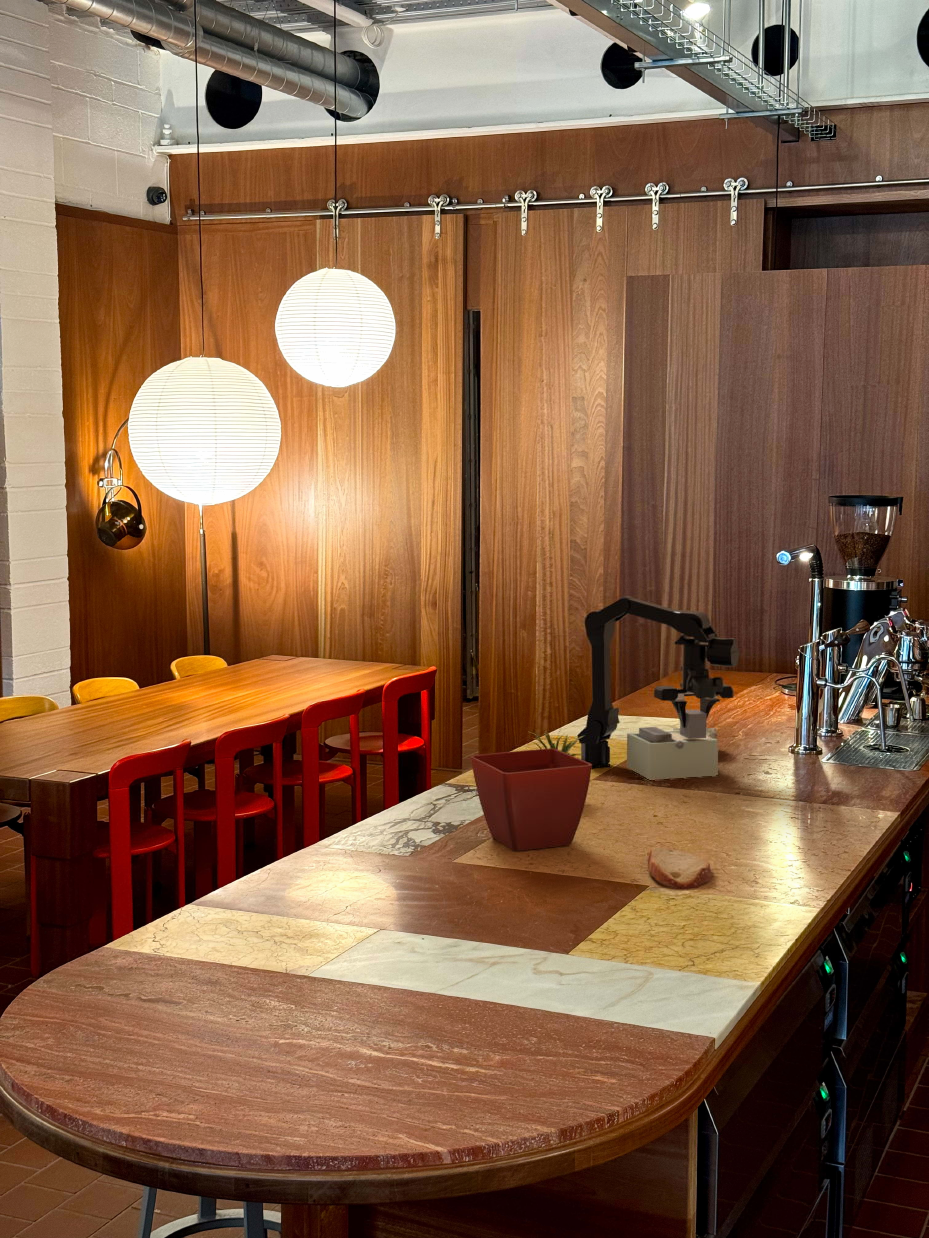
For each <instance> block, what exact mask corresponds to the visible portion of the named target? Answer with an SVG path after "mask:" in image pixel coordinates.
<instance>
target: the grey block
mask: <svg viewBox="0 0 929 1238" xmlns="http://www.w3.org/2000/svg"><path fill="white" fill-rule="evenodd" d="M707 719H708V718H707V713H704V712H702V711H700V709H686V726H685V728H683V727H682V725H681V722H680V721H679V729H680V735H682V736H684V737H686V738H688V739H694V738H706V728H707V724H708V723H707V722H708V721H707Z"/></svg>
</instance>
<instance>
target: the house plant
mask: <svg viewBox="0 0 929 1238" xmlns="http://www.w3.org/2000/svg"><path fill="white" fill-rule="evenodd" d="M561 730H562V728H560V729H559V732H558V733H557V738H556V743H555V742H553V741H552V739H551V736H550V733H549V732H547V731H546V730H544V732H543V735H544V736H545V738H546V740H547V743H548V745H549V748H553V749H557V750H560V751H562V752H564V753H567V754H569V755H571V756H574V757H576V756H577V755H578V756H579V755H580V756H581V753H569V751H570V750H571V749H572V747H574V746H575V744H576V743H578V742H579V739H580V738H581V737H583V736H581V737H579V738H578V737H577V738H576V739H575V740H573V741H570V742H569V743H567V742H568V735H566V736H565V738H564V740H563V744H562V747H561V749H559V744H560V739H561V738H562V737H563V736H564V735H565V733H566V732H564V733H562V735H560V732H561ZM529 733H531V734H533V735H534V736H536V737H535V738H534V737H532V739H533V740H537V742H539V743H540V744H541V745H542V747H543V748H542V747H541V746H540V745H539V744H538V743H536V742H533V741H531V743H533V744H535V746H537V747H538V749H549V748H548V746H547V745H546V744H545V743H544V742H543V740H542V739H541V737H540V736H539V735H537V734H536V733H534V732H530V731H529ZM559 735H560V736H559ZM584 736H585V735H584Z"/></svg>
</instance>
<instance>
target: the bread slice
mask: <svg viewBox="0 0 929 1238" xmlns="http://www.w3.org/2000/svg"><path fill="white" fill-rule="evenodd" d="M647 859H648V860H647V870H648V874H649V875H650V876H651V877H652V878H653V879H654V880H655V881H656V882H657V883H659V884H660V885H662V886H664V887H667V888H669V889H675V890H691V889H693V890H694V889H698V888H699V887H700V886H701V885H705V884H706V883H708V882H710V881H711V880H712V871H711V864H710V862H709V861H708V860H707V859H704V858H702V857H700V856H698V855H696V854H693V853H691V852H687V851H683V850H680V849H675V848H670V847H669V848H668V847H663V846H653V847H652V848H651V849H650V851H649V855H648V858H647Z"/></svg>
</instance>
